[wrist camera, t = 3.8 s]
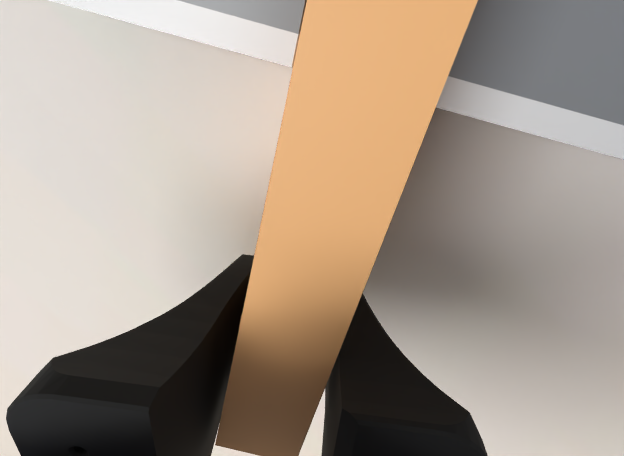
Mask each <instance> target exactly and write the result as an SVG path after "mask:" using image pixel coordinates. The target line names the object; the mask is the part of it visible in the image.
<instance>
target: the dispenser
mask: <svg viewBox="0 0 624 456" xmlns="http://www.w3.org/2000/svg"><path fill="white" fill-rule="evenodd" d="M49 1H53V2H56V3H60V4H63V5H67V6H71V7H74V8H78V9H82V10H85V11H89V12H92V13H96V14H100V15H103V16H107V17H110V18H114V19H118V20H121V21H125V22H129V23H132V24H136V25H139V26H143V27H147V28H150V29H154V30H157V31H161V32H165V33H168V34H172V35H175V36H179V37H183V38H186V39H190V40H194V41H197V42H201V43H204V44H208V45H212V46H215V47H219V48H222V49H226V50H230V51H233V52H237V53H241V54H244V55H248V56H251V57H255V58H259V59H262V60H266V61H269V62H273V63H277V64H280V65H284V66H287V67H291V68H292V67H293V65H294V60H295V56H296V51H297V46H298V41H299V36H300V31H301V26H302V22H303V17H304V12H305V7H306V2H307V0H49ZM436 108H439V109H443V110H446V111H450V112H454V113H457V114H461V115H464V116H468V117H472V118H475V119H479V120H483V121H486V122H490V123H493V124H497V125H501V126H504V127H508V128H511V129H515V130H519V131H522V132H526V133H530V134H533V135H537V136H540V137H544V138H548V139H551V140H555V141H558V142H562V143H566V144H569V145H573V146H576V147H580V148H584V149H587V150H591V151H595V152H598V153H602V154H605V155H609V156H613V157H616V158H620V159H623V160H624V0H478V1H477V4H476V6H475V9H474V11H473V14H472V17H471V19H470V22H469V24H468V27H467V29H466V32H465V34H464V37H463V39H462V42H461V44H460V47H459V50H458V52H457V55H456V57H455V60H454V62H453V65H452V67H451V70H450V72H449V75H448V77H447V80H446V82H445V85H444V88H443V90H442V93H441V95H440V98H439V100H438V103H437V105H436Z"/></svg>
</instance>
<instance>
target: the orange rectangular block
mask: <svg viewBox="0 0 624 456" xmlns="http://www.w3.org/2000/svg"><path fill="white" fill-rule="evenodd" d="M477 1H478V0H307V2H306V7H305V12H304V17H303V22H302V26H301V31H300V36H299V41H298V46H297V51H296V56H295V60H294V65H293V70H292V75H291V80H290V85H289V89H288V94H287V99H286V104H285V109H284V114H283V119H282V123H281V128H280V133H279V138H278V143H277V148H276V153H275V157H274V162H273V167H272V172H271V177H270V182H269V187H268V191H267V196H266V201H265V206H264V211H263V216H262V221H261V225H260V230H259V235H258V240H257V245H256V250H255V254H254V259H253V264H252V269H251V274H250V279H249V284H248V288H247V293H246V298H245V303H244V308H243V313H242V315H241V320H240V325H239V332H238V337H237V342H236V347H235V352H234V356H233V361H232V366H231V371H230V376H229V381H228V386H227V390H226V395H225V400H224V405H223V410H222V415H221V419H220V424H219V429H218V434H217V439H216V444H215V445H217V446H221V447H226V448H230V449H234V450H238V451H243V452H247V453H251V454H255V455H260V456H298V455H299V452H300V450H301V447H302V445H303V442H304V440H305V437H306V435H307V432H308V430H309V427H310V425H311V422H312V419H313V417H314V414H315V412H316V409H317V407H318V404H319V402H320V399H321V397H322V394H323V392H324V389H325V387H326V384H327V381H328V379H329V376H330V374H331V371H332V369H333V366H334V364H335V361H336V359H337V356H338V354H339V351H340V349H341V346H342V343H343V341H344V338H345V336H346V333H347V331H348V328H349V326H350V323H351V321H352V318H353V316H354V313H355V311H356V308H357V305H358V303H359V300H360V298H361V295H362V293H363V290H364V288H365V285H366V283H367V280H368V278H369V275H370V273H371V270H372V267H373V265H374V262H375V260H376V257H377V255H378V252H379V250H380V247H381V245H382V242H383V240H384V237H385V235H386V232H387V229H388V227H389V224H390V222H391V219H392V217H393V214H394V212H395V209H396V207H397V204H398V202H399V199H400V196H401V194H402V191H403V189H404V186H405V184H406V181H407V179H408V176H409V174H410V171H411V169H412V166H413V164H414V161H415V158H416V156H417V153H418V151H419V148H420V146H421V143H422V141H423V138H424V136H425V133H426V131H427V128H428V126H429V123H430V120H431V118H432V115H433V113H434V110H435V108H436V105H437V103H438V100H439V98H440V95H441V93H442V90H443V88H444V85H445V82H446V80H447V77H448V75H449V72H450V70H451V67H452V65H453V62H454V60H455V57H456V55H457V52H458V50H459V47H460V44H461V42H462V39H463V37H464V34H465V32H466V29H467V27H468V24H469V22H470V19H471V17H472V14H473V11H474V9H475V6H476V4H477Z"/></svg>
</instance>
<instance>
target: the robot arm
mask: <svg viewBox="0 0 624 456" xmlns="http://www.w3.org/2000/svg"><path fill="white" fill-rule="evenodd" d="M253 259H254V256H251V255H241V256H240V257H239V258H238V259H237V260H235V261H234V262H233V263H232V264H231V265H230V266H229V267H228V268H226V269H225V270H224V271H223V272H222V273H221V274H219V275H218V276H217V277H216V278H215V279H213V280H212V281H211V282H210V283H208V284H207V285H206V286H205V287H203V288H202V289H201V290H199V291H198V292H197V293H195V294H194V295H192V296H191V297H190V298H188V299H187V300H185V301H184V302H182V303H181V304H179V305H178V306H176V307H174V308H173V309H171V310H169V311H168V312H166V313H164V314H162V315H161V316H159V317H157V318H155V319H153V320H151V321H149V322H147V323H145V324H143V325H141V326H139V327H137V328H135V329H132V330H130V331H128V332H125V333H123V334H121V335H118V336H116V337H113V338H111V339H108V340H106V341H103V342H101V343H98V344H95V345H92V346H89V347H86V348H83V349H80V350H77V351H74V352H71V353H67V354H64V355H61V356H58V357H54V358H53V359H52V360H51V361H50V362H49V363H48V364H47V365H46V366H45V367H44V368H43V369H42V370H41V371H40V372H39V373H38V374H37V375H36V376H35V378H34V379H33V380H32V381H31V382H30V383H29V384H28V385H27V387H26V388H25V389H24V390H23V391H22V392H21V393H20V394H19V396H18V397H17V398H16V399H15V400H14V401H13V402H12V404H11V405H10V406H9V407H8V409H7V415H6V420H7V424H8V428H9V431H10V433H11V436H12V438H13V440H14V442H15V444H16V446H17V448H18V450H19V452H20V455H21V456H211V453H212V449H213V445H214V442H215V438H216V434H217V430H218V427H219V423H220V419H221V415H222V410H223V405H224V400H225V395H226V390H227V386H228V381H229V376H230V371H231V366H232V361H233V356H234V352H235V347H236V342H237V337H238V332H239V325H240V320H241V315H242V313H243V308H244V303H245V298H246V293H247V288H248V284H249V279H250V274H251V269H252V264H253ZM322 456H487V453H486V450H485V447H484V444H483V441H482V439H481V436H480V434H479V432H478V430H477V427H476V425H475V423H474V421H473V419H472V417H471V415H470V413H469V412H468V411H467V410H466V409H464V408H463V407H462V406H460V405H459V404H458V403H457V402H455V401H454V400H453V399H451V398H450V397H449V396H447V395H446V394H445V393H444V392H442V391H441V390H440V389H439V388H438V387H436V386H435V385H434V384H433V383H432V382H431V381H430V380H429V379H427V378H426V377H425V376H424V375H423V374H422V373H421V372H420V371H419V370H418V369H417V368H416V367H415V366H414V365H413V364H412V363H411V362H410V361H409V360H408V359H407V358H406V357H405V356H404V354H403V353H402V352H401V351H400V350H399V348H398V347H397V346H396V345H395V344H394V342H393V341H392V340H391V338H390V337H389V336H388V334H387V333H386V332H385V330H384V329H383V327H382V326H381V324H380V323H379V321H378V320H377V318H376V317H375V315H374V313H373V312H372V310H371V308H370V306H369V304H368V303H367V301H366V299H365V297H364V295H363V293H362V295H361V298H360V300H359V303H358V305H357V308H356V311H355V313H354V316H353V318H352V321H351V323H350V326H349V328H348V331H347V333H346V336H345V338H344V341H343V343H342V346H341V349H340V351H339V354H338V356H337V359H336V361H335V364H334V366H333V369H332V371H331V374H330V376H329V379H328V381H327V384H326V387H325V418H324V432H323V445H322Z"/></svg>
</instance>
